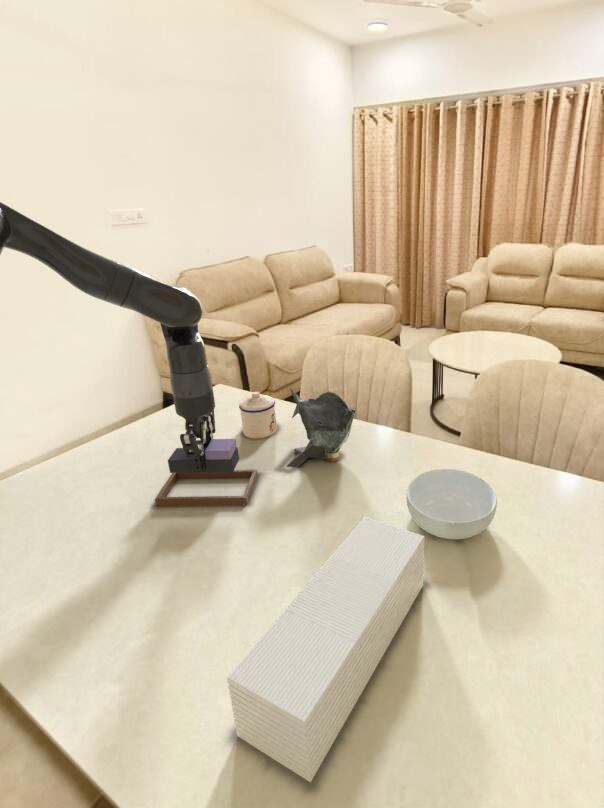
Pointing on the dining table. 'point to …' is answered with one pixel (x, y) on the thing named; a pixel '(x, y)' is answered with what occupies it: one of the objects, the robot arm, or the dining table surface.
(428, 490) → the cereal bowl
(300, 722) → the stack of papers
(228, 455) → the navy and purple block
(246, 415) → the teacup with lid
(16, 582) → the dining table surface
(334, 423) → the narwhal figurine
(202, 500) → the empty rectangular frame
